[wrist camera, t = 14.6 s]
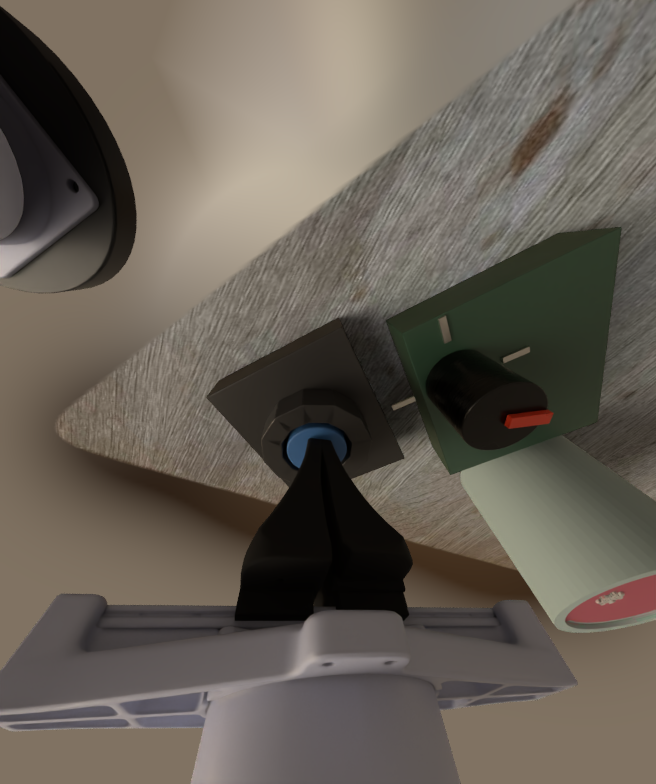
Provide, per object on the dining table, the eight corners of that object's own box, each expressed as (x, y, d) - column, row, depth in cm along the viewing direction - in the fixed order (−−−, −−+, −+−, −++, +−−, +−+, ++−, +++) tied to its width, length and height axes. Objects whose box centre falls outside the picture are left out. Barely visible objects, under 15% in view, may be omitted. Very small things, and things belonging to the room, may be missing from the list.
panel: (357, 334, 15) (367, 351, 12) (558, 232, 13) (627, 225, 10) (411, 455, 20) (426, 485, 18) (557, 398, 18) (600, 423, 15)
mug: (440, 476, 22) (524, 619, 13) (530, 407, 18) (723, 539, 10) (518, 520, 26) (619, 647, 18) (602, 472, 23) (777, 600, 14)
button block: (218, 380, 16) (192, 415, 12) (338, 317, 14) (347, 336, 11) (300, 477, 21) (298, 520, 17) (395, 438, 19) (414, 478, 16)
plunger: (278, 424, 15) (274, 443, 13) (328, 401, 14) (330, 418, 13) (306, 459, 17) (305, 479, 15) (352, 440, 16) (356, 459, 15)
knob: (422, 409, 14) (459, 460, 11) (428, 354, 12) (475, 392, 9) (481, 402, 14) (538, 450, 11) (496, 345, 12) (570, 380, 9)
